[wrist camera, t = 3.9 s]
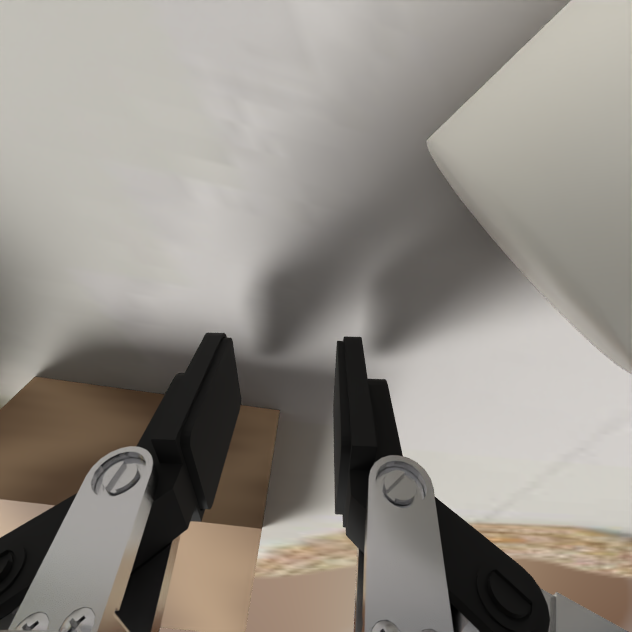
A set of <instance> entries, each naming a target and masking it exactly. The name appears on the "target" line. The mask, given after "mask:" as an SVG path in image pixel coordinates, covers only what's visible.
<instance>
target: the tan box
mask: <svg viewBox="0 0 632 632" xmlns="http://www.w3.org/2000/svg"><path fill="white" fill-rule="evenodd" d="M164 395H165V394H158V393H150V392H143V391H136V390H129V389H121V388H114V387H107V386H100V385H92V384H85V383H78V382H71V381H63V380H56V379H49V378H42V377H34V378H33V379H32V380H31V381H30V382H29V383H28V384H27V385H26V386H25V387H24V388H23V389H21V390H20V391H19V392H18V393H17V394H16V395H15V396H14V397H13V398H12V399H11V400H10V401H9V402H8V403H7V404H6V405H5V406H4V407H2V408H1V409H0V537H2V536H4V535H6V534H7V533H9V532H11V531H12V530H14V529H16V528H18V527H19V526H21V525H23V524H25V523H26V522H28V521H30V520H31V519H33V518H35V517H37V516H38V515H40V514H42V513H43V512H45V511H47V510H49V509H50V508H52V507H54V506H55V505H57V504H59V503H61V502H62V501H64V500H66V499H67V498H69V497H71V496H73V495H74V494H76V493H78V491H79V489H80V487H81V485H82V483H83V481H84V479H85V477H86V475H87V474H88V472H89V471H90V469H91V468H92V467H93V466H94V465H95V464H96V463H97V462H98V461H99V460H100V459H101V458H103V457H104V456H106V455H107V454H109V453H110V452H113V451H115V450H117V449H120V448H124V447H129V446H135V447H136V446H137V444H138V442H139V440H140V439H141V437H142V435H143V433H144V431H145V430H146V428H147V426H148V424H149V422H150V421H151V419H152V417H153V415H154V413H155V412H156V410H157V408H158V406H159V404H160V403H161V401H162V399H163V397H164ZM279 413H280V410H274V409H266V408H259V407H252V406H245V405H241V406H240V411H239V414H238V418H237V421H236V425H235V428H234V432H233V435H232V439H231V442H230V446H229V450H228V453H227V457H226V460H225V464H224V467H223V471H222V474H221V478H220V481H219V485H218V488H217V492H216V495H215V499H214V502H213V505H212V507H211V509H205V512H204V515H203V518H202V522H193V521H190V524H189V527H188V529H187V530H186V531H184V532H183V533H182V534H181V535H180V541H179V545H178V550H177V554H176V559H175V563H174V568H173V572H172V577H171V581H170V586H169V591H168V595H167V600H166V604H165V609H164V613H163V618H162V622H161V627H160V628H169V629H180V630H191V631H202V632H245V630H246V624H247V617H248V611H249V606H250V599H251V593H252V587H253V581H254V574H255V568H256V562H257V556H258V549H259V543H260V537H261V531H262V524H263V518H264V511H265V505H266V498H267V492H268V485H269V478H270V472H271V465H272V459H273V452H274V446H275V439H276V433H277V426H278V419H279Z"/></svg>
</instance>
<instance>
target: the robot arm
mask: <svg viewBox="0 0 632 632" xmlns="http://www.w3.org/2000/svg"><path fill="white" fill-rule="evenodd" d="M240 406H241V395H240V389H239V382H238V375H237V368H236V362H235V355H234V348H233V341H232V339H231V338H227V336H226V334H225V333H206V334H205V336H204V338H203V340H202V342H201V344H200V345H199V347H198V349H197V351H196V353H195V355H194V357H193V359H192V361H191V363H190V365H189V366H188V368H187V370H186V372H185V373H179V374H177V375H176V376H175V378H174V379H173V381H172V383H171V384H170V386H169V388H168V390H167V392H166V394H165V395H164V397H163V399H162V401H161V403H160V404H159V406H158V408H157V410H156V412H155V413H154V415H153V417H152V419H151V421H150V422H149V424H148V426H147V428H146V430H145V431H144V433H143V435H142V437H141V439H140V440H139V442H138V444H137V446H136V447H135V446H129V447H124V448H120V449H117V450H115V451H113V452H110V453H109V454H107V455H106V456H104V457H103V458H101V459H100V460H99V461H98V462H97V463H96V464H95V465H94V466H93V467H92V468H91V469H90V471H89V472H88V474H87V475H86V477H85V479H84V481H83V483H82V485H81V487H80V489H79V491H78V493H76V494H74V495H73V496H71V497H69V498H67V499H66V500H64V501H62V502H61V503H59V504H57V505H55V506H54V507H52V508H50V509H49V510H47V511H45V512H43V513H42V514H40V515H38V516H37V517H35V518H33V519H31V520H30V521H28V522H26V523H25V524H23V525H21V526H19V527H18V528H16V529H14V530H12V531H11V532H9V533H7V534H6V535H4V536H2V537H0V632H159V631H160V627H161V622H162V618H163V613H164V609H165V604H166V600H167V595H168V591H169V586H170V581H171V577H172V572H173V568H174V563H175V559H176V554H177V550H178V545H179V541H180V535H181V534H182V533H183V532H184V531H186V530H187V529H188V527H189V524H190V521H193V522H202V518H203V515H204V512H205V509H211V507H212V505H213V502H214V499H215V495H216V492H217V488H218V485H219V481H220V478H221V474H222V471H223V467H224V464H225V460H226V457H227V453H228V450H229V446H230V442H231V439H232V435H233V432H234V428H235V425H236V421H237V418H238V414H239V411H240ZM333 417H334V474H335V514H343V527H346V535H347V536H348V538H349V539H350V540H351V541H352V542H353V543H354V544H355V545H356V546H357V547H358V549H357V570H356V572H357V573H356V590H355V612H354V632H628V631H626V630H624V629H622V628H620V627H619V626H617V625H615V624H613V623H612V622H610V621H608V620H606V619H604V618H603V617H601V616H599V615H597V614H595V613H593V612H592V611H590V610H588V609H586V608H584V607H582V606H581V605H579V604H577V603H575V602H574V601H572V600H570V599H568V598H566V597H564V596H563V595H561V594H559V593H557V592H556V593H555V594H554V595H552V594H550V593H548V592H546V591H544V590H543V589H540V587H539V586H538V585H537V584H536V582H535V580H534V579H533V578H532V576H531V575H530V574H528V572H526V570H525V569H524V568H523V567H521V566H520V565H519V564H518V563H516V562H515V561H514V560H513V559H512V558H510V557H509V556H508V555H507V554H505V553H504V552H503V551H502V550H500V549H499V548H498V547H497V546H495V545H494V544H493V543H492V542H490V541H489V540H488V539H487V538H486V537H484V536H483V535H482V534H481V533H479V532H478V531H477V530H476V529H474V528H473V527H472V526H471V525H469V524H468V523H467V522H466V521H464V520H463V519H462V518H461V517H459V516H458V515H457V514H456V513H454V512H453V511H452V510H451V509H449V508H448V507H447V506H446V505H444V504H443V503H442V502H441V501H439V500H438V499H437V498H436V497H435V496H434V489H433V485H432V482H431V479H430V477H429V475H428V474H427V472H426V471H425V470H424V469H423V468H422V467H421V466H420V465H419V464H418V463H417V462H415V461H413V460H411V459H409V458H407V457H403V455H402V451H401V446H400V441H399V436H398V431H397V427H396V422H395V417H394V412H393V408H392V403H391V398H390V393H389V389H388V384H387V381H386V380H385V379H367V372H366V365H365V358H364V351H363V344H362V338H361V337H344V340H343V341H337V351H336V368H335V386H334V404H333Z"/></svg>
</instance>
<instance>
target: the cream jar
mask: <svg viewBox="0 0 632 632" xmlns="http://www.w3.org/2000/svg"><path fill="white" fill-rule="evenodd" d="M426 143H427V147H428V150H429V152H430V154H431V156H432V158H433V160H434V161H435V163H436V165H437V166H438V168H439V169H440V171H441V173H442V174H443V176H444V177H445V178H446V180H447V181H448V183H449V184H450V186H451V187H452V188H453V190H454V191H455V192H456V194H457V195H458V196H459V198H460V199H461V200H462V202H463V203H464V204H465V206H466V207H467V208H468V209H469V211H470V212H471V213H472V214H473V216H474V217H475V218H476V220H477V221H478V222H479V223H480V224H481V226H482V227H483V228H484V229H485V231H486V232H487V233H488V234H489V235H490V237H491V238H492V239H493V240H494V241H495V242H496V244H497V245H498V246H499V247H500V248H501V249H502V251H503V252H504V253H505V254H506V255H507V256H508V258H509V259H510V260H511V261H512V262H513V263H514V264H515V265H516V267H517V268H518V269H519V270H520V271H521V272H522V273H523V274H524V275H525V277H526V278H527V279H528V280H529V281H530V282H531V283H532V284H533V285H534V286H535V287H536V289H537V290H538V291H539V292H540V293H541V294H542V295H543V296H544V297H545V298H546V299H547V300H548V301H549V302H550V303H551V304H552V305H553V306H554V307H555V308H556V309H557V310H558V312H559V313H560V314H561V315H562V316H563V317H564V318H565V319H566V320H567V321H568V322H569V323H570V324H571V325H573V326H574V327H575V328H576V329H577V330H578V331H579V332H580V333H581V334H582V335H583V336H584V337H585V338H586V339H587V340H588V341H589V342H590V343H592V344H593V345H594V346H595V347H596V348H597V349H598V350H599V351H600V352H602V353H603V354H604V355H605V356H606V357H608V358H609V359H610V360H611V361H613V362H614V363H615V364H616V365H618V366H619V367H621V368H622V369H624V370H625V371H627V372H629V373H630V374H632V0H571V1H570V2H569V3H568V4H567V5H566V6H565V7H564V8H563V9H562V10H561V11H560V12H559V13H557V14H556V15H555V16H554V17H553V18H552V19H551V20H550V21H549V22H548V23H547V24H546V25H545V26H544V27H543V28H542V29H541V30H540V31H539V32H538V33H537V34H536V35H535V36H534V37H533V38H532V39H531V40H530V41H529V42H528V43H527V44H525V45H524V46H523V47H522V48H521V49H520V50H519V51H518V52H517V53H516V54H515V55H514V56H513V57H512V58H511V59H510V60H509V61H508V62H507V63H506V64H505V65H504V66H503V67H502V68H501V69H500V70H499V71H498V72H497V73H496V74H494V75H493V76H492V77H491V78H490V79H489V80H488V81H487V82H486V83H485V84H484V85H483V86H482V87H481V88H480V89H479V90H478V91H477V92H476V93H475V94H474V95H473V96H472V97H471V98H470V99H469V100H468V101H467V102H466V103H465V104H463V105H462V106H461V107H460V108H459V109H458V110H457V111H456V112H455V113H454V114H453V115H452V116H451V117H450V118H449V119H448V120H447V121H446V122H445V123H444V124H443V125H442V126H441V127H440V128H439V129H438V130H437V131H436V132H435V133H434V134H432V135H431V136H430V137H429V138H428V139H427V142H426Z"/></svg>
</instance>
